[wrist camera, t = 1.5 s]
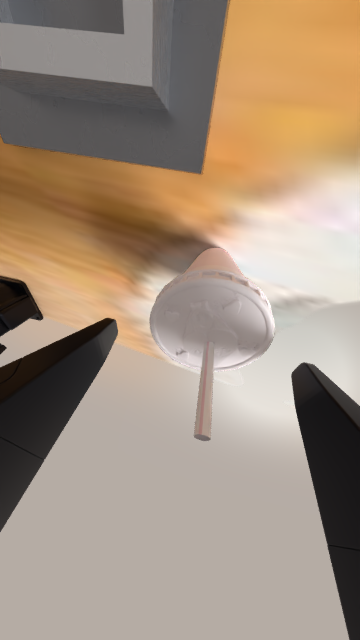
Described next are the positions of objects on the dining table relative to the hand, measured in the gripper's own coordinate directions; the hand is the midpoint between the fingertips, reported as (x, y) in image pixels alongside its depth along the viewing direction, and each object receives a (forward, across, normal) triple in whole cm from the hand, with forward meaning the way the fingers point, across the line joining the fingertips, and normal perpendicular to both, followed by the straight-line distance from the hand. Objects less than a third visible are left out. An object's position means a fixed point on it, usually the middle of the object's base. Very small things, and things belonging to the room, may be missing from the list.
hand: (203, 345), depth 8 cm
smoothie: (+11, 0, 0) cm, 11 cm away
